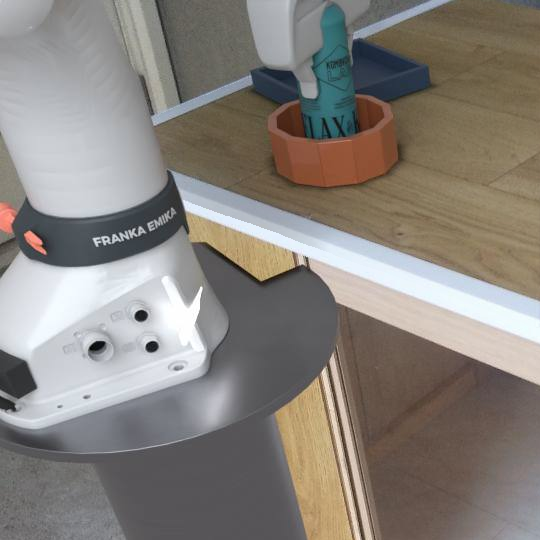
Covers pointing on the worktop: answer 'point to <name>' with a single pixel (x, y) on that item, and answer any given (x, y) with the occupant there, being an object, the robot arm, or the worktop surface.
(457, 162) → the worktop surface
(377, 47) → the tray
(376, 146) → the bowl
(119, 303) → the robot arm
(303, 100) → the beverage bottle
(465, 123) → the worktop surface
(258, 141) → the worktop surface
